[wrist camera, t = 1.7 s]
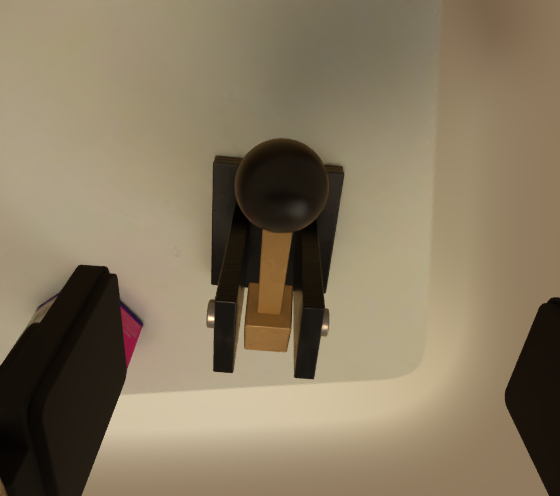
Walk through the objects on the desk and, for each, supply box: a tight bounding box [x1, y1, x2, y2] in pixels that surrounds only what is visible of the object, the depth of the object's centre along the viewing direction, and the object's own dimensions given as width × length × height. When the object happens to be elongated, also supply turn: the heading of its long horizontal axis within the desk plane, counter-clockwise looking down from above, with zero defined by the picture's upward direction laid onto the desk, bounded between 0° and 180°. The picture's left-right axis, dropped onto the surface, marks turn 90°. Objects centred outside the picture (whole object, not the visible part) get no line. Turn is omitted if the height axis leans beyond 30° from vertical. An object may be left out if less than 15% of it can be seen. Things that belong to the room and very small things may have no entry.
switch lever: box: [235, 138, 329, 352], centre depth 21 cm, size 13×3×3 cm, turn 176°
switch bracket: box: [207, 156, 344, 379], centre depth 29 cm, size 9×8×12 cm
